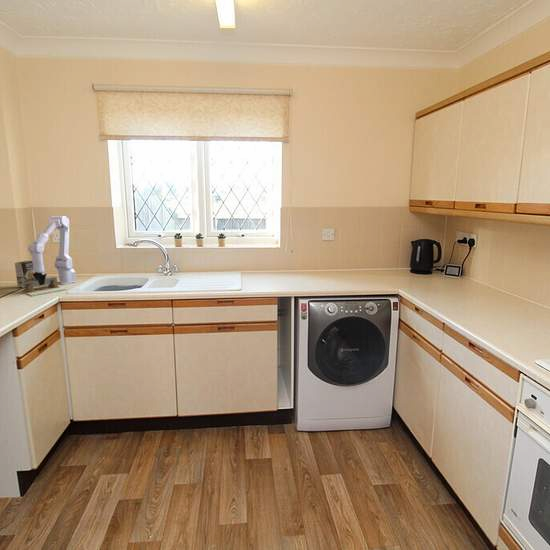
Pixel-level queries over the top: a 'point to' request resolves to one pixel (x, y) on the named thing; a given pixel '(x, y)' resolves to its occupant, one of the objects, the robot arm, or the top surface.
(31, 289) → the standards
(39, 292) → the mat
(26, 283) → the rail
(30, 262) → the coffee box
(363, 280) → the top surface
